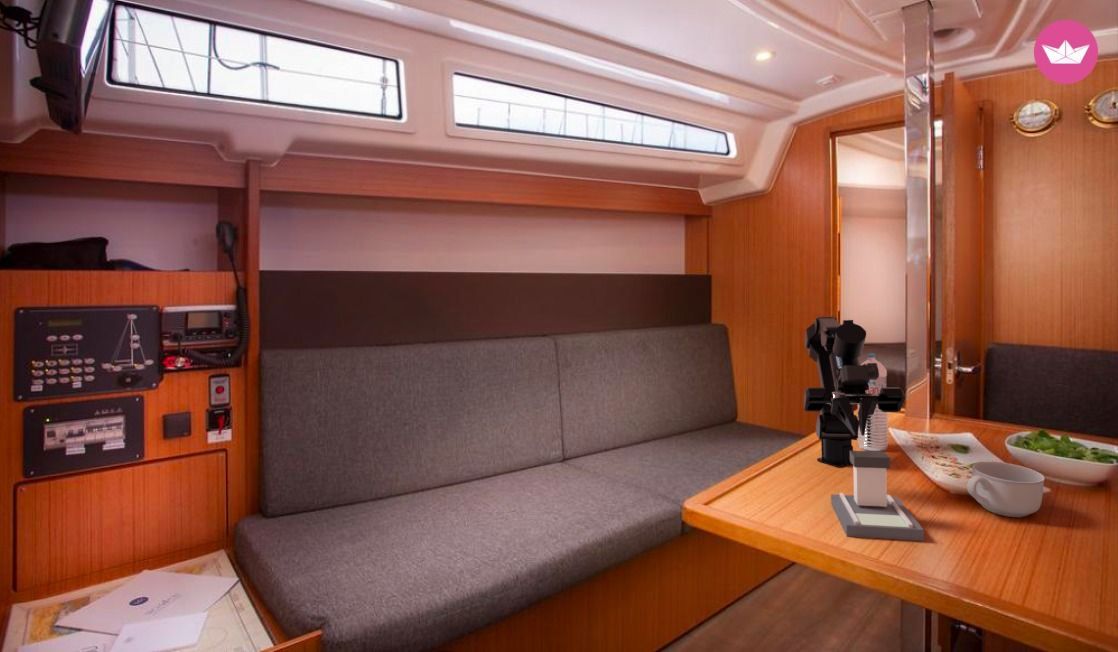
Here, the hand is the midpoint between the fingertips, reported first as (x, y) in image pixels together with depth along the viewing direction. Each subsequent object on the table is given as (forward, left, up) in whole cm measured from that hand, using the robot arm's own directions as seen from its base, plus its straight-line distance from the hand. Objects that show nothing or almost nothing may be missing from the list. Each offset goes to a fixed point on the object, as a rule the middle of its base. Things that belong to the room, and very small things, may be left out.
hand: (859, 434), depth 116 cm
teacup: (+17, +16, -14) cm, 27 cm away
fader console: (+8, -7, -14) cm, 17 cm away
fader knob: (+6, -5, -11) cm, 14 cm away
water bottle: (-22, +33, -14) cm, 42 cm away
